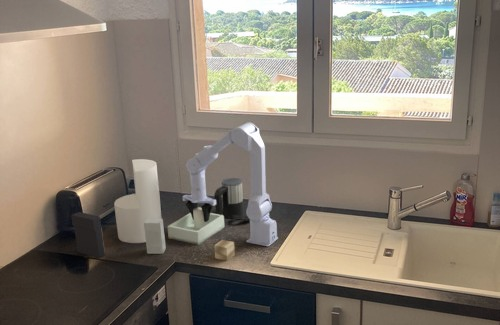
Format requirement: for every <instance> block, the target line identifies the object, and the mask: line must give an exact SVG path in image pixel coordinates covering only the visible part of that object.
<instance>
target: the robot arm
mask: <svg viewBox="0 0 500 325" xmlns="http://www.w3.org/2000/svg"><path fill="white" fill-rule="evenodd" d="M234 144H235V145H236V146H238V147H240V148H242V149H244V150H246V151H247V152H249V166H250V167H249V168H250V170H249V171H250V197H249V199H248V201H247V202H248V203H247V207H246V210H245V215H247V216H248V218H249V219H250V220H249V227H250V228H249V230H250V237H249V238H248V239H247V240H246V243H249V244H254V245H258V246H264V247H270V246H271V245H272V244H273V243H275V242H276V241H277V240H278V239H279V237H278V227H277V226H278V223H277V221H276V220H274V219H272V218H271V217H270V212H271V211H272V209H273V204H272V202H271V199H270V194H269V193H267V189H266V188H267V185H266V183H267V182H266V181H267V178H266V146H265V143H264V141H263V139H262V137H261V135H260V128H258V127H257V125H255V123H252V122H249V121H247V122H245V123H244V124H241V125H239V126H237V127H234V128H232V129H231V130H229V131H227V132H226V133H224V135H223V136H222V137H221V138H220V139H218V140H217V141H216V142H215V143H214V144H212V145H205V146H203V147H202V148H201V149H202V150H200V151H199V152H197V153H195V154H194V157H192V158H189V159H188V160H187V161H186V164H185V166H186V169H187V171H188V172H189V179H190V192H191V194H184V195H183V196H182V201H184V202H185V206H186V208H187V209H188V210H189V211H188V212H189V213H191V215H192V218H193V220H194V216H193V209H195V208H198V204H203V205H201V206H200V207H201V208H202V211H203V215H204V222H207V221H209V216H210V213H212V212H211V211H212V208H213V207H215V205H216V200H215V199H214V198H211V197H209V196H207V186H206V169H207V168H208V166H209V165H210V164H211V163H213V162H214V161H215V160H216V159H218V157H219V152H221V151H222V150H223V149H225V148H226V147H227V146H229V145H234Z"/></svg>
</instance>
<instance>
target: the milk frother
mask: <svg viewBox="0 0 500 325" xmlns="http://www.w3.org/2000/svg"><path fill="white" fill-rule="evenodd" d="M243 182H244V180H243V179H241V178H239V177H229V178H225V179H222V180H221V181H220V183H221V186H220V187H218V188H217V189H215V191H214V195H213V196H214V197H213V199H215V200H216V205H214V207H215V214H219V215H224V218H228V219H237V220H238V219H239V220H242V221H244V222H248V223H250V219H249V218H248V216H247V214H245V211H244V200H243V198H244V196H243ZM244 214H245V215H244Z"/></svg>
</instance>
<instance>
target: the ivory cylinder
mask: <svg viewBox="0 0 500 325" xmlns="http://www.w3.org/2000/svg"><path fill="white" fill-rule="evenodd" d="M193 216H194V227H195V228H197V229H201V228H202V227H204V226H206V225H207V222H204V215H203V211H202V208H201V206H200V207H199V206H197V208H195V209H193Z"/></svg>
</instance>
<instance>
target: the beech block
mask: <svg viewBox="0 0 500 325" xmlns="http://www.w3.org/2000/svg"><path fill="white" fill-rule="evenodd" d="M234 256H236V254H235V242H234V241H230V240H226V239H225V240H224V239H221V240H220V241H218V242H217V243H215V244H214V258H215V259H217V260H222V261H225V262H228V261H229V260H230V259H231V258H233V257H234Z"/></svg>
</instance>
